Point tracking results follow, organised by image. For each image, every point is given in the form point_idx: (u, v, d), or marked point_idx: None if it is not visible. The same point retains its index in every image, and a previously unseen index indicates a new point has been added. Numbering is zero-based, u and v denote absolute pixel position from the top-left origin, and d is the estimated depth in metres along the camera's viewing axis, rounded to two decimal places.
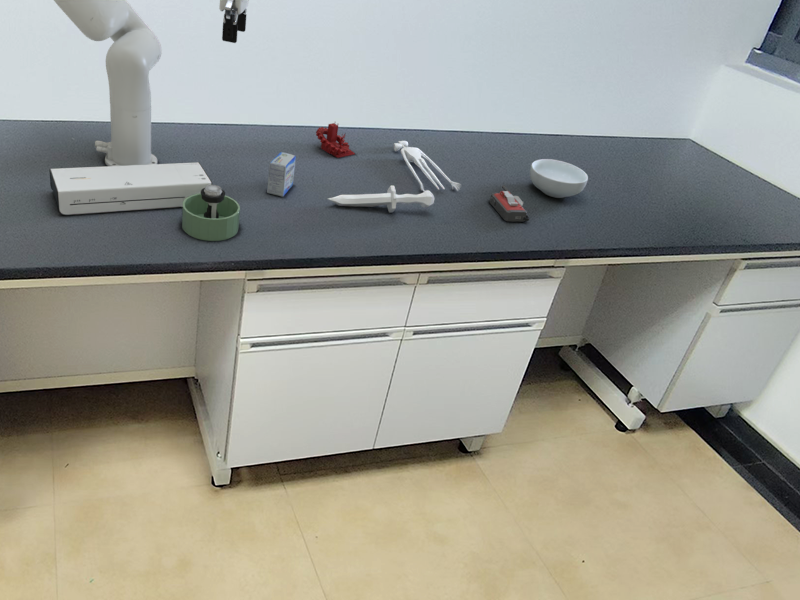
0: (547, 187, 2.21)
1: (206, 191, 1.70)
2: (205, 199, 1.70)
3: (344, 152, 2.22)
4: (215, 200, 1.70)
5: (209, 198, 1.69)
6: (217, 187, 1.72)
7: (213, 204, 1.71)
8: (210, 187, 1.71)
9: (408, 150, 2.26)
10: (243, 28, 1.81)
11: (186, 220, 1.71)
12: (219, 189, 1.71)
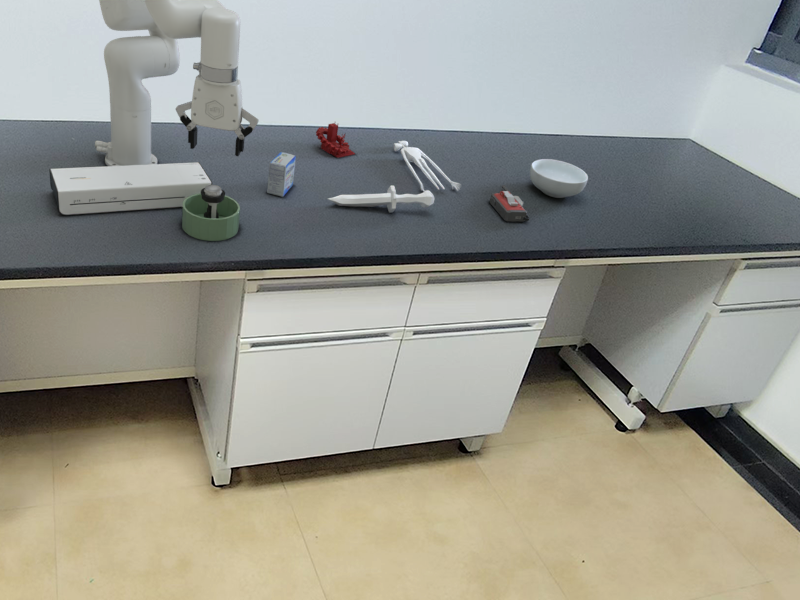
0: (547, 187, 2.21)
1: (206, 191, 1.70)
2: (205, 199, 1.70)
3: (344, 152, 2.22)
4: (215, 200, 1.70)
5: (209, 198, 1.69)
6: (217, 187, 1.72)
7: (213, 204, 1.71)
8: (210, 187, 1.71)
9: (408, 150, 2.26)
10: (196, 141, 1.67)
11: (186, 220, 1.71)
12: (219, 189, 1.71)
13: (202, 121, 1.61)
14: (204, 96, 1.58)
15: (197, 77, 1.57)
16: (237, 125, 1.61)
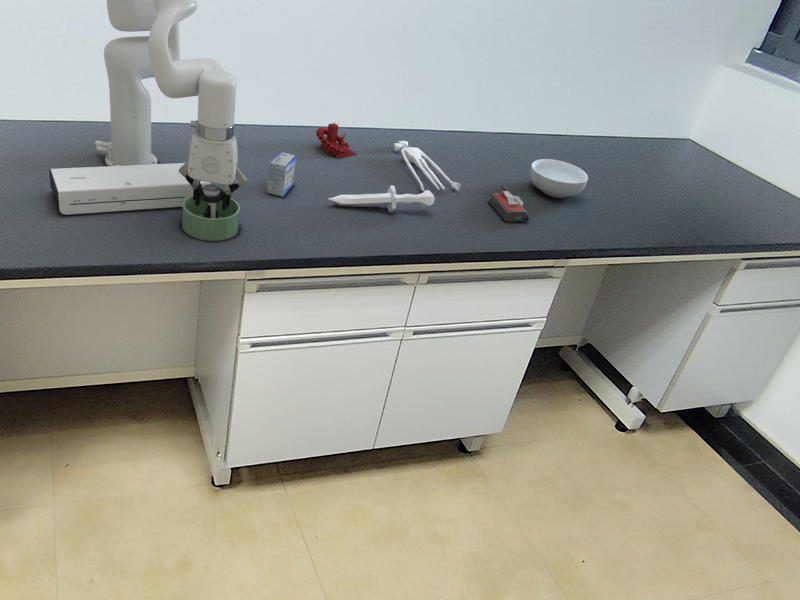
0: (547, 187, 2.21)
1: (205, 191, 1.70)
2: (204, 199, 1.70)
3: (344, 152, 2.22)
4: (214, 200, 1.70)
5: (208, 198, 1.69)
6: (216, 187, 1.71)
7: (212, 204, 1.71)
8: (209, 187, 1.71)
9: (408, 150, 2.26)
10: None
11: (186, 220, 1.71)
12: (218, 189, 1.71)
13: (199, 176, 1.67)
14: (201, 153, 1.64)
15: (194, 134, 1.64)
16: (232, 180, 1.68)
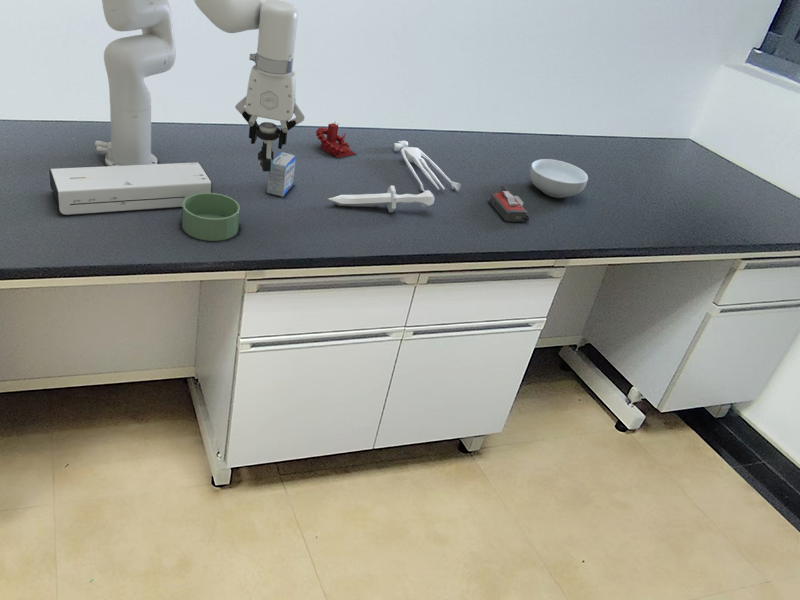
0: (547, 187, 2.21)
1: (261, 128, 1.67)
2: (260, 136, 1.67)
3: (344, 152, 2.22)
4: (271, 137, 1.67)
5: (265, 135, 1.66)
6: (272, 124, 1.69)
7: (268, 142, 1.68)
8: (265, 124, 1.68)
9: (408, 150, 2.26)
10: (256, 136, 1.71)
11: (186, 220, 1.71)
12: (274, 126, 1.68)
13: (256, 111, 1.64)
14: (259, 87, 1.61)
15: (253, 68, 1.61)
16: (290, 116, 1.65)
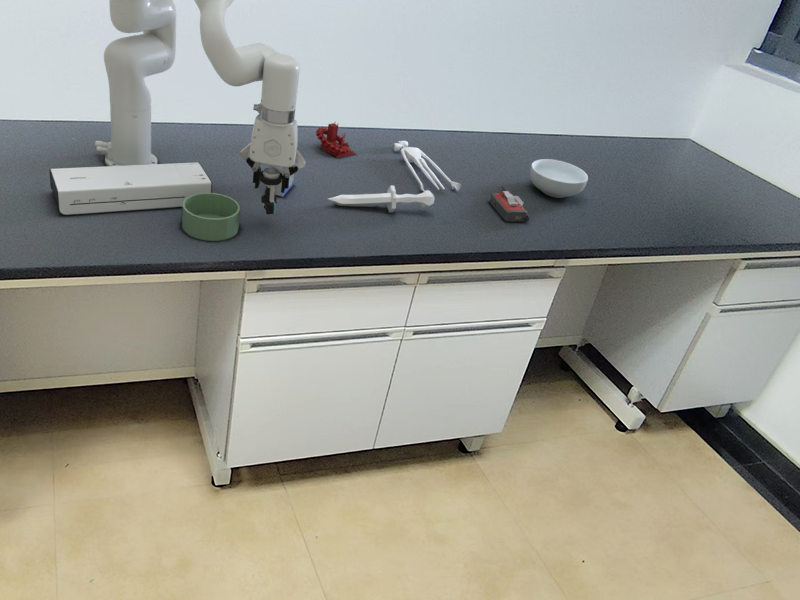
0: (547, 187, 2.21)
1: (265, 174, 1.74)
2: (264, 181, 1.74)
3: (344, 152, 2.22)
4: (274, 182, 1.74)
5: (268, 180, 1.73)
6: (275, 170, 1.75)
7: (272, 186, 1.75)
8: (268, 170, 1.75)
9: (408, 150, 2.26)
10: None
11: (186, 220, 1.71)
12: (277, 171, 1.75)
13: (260, 158, 1.71)
14: (263, 135, 1.68)
15: (257, 118, 1.67)
16: (293, 162, 1.71)
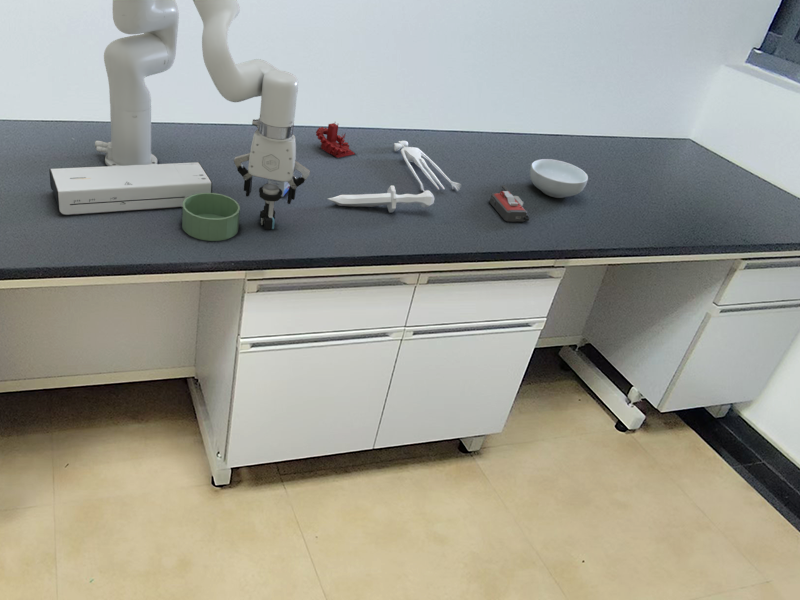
0: (547, 187, 2.21)
1: (264, 190, 1.76)
2: (263, 197, 1.76)
3: (344, 152, 2.22)
4: (273, 198, 1.76)
5: (267, 196, 1.75)
6: (274, 186, 1.78)
7: (271, 202, 1.77)
8: (268, 186, 1.77)
9: (408, 150, 2.26)
10: (251, 188, 1.79)
11: (186, 220, 1.71)
12: (277, 188, 1.77)
13: (258, 172, 1.73)
14: (262, 150, 1.70)
15: (256, 133, 1.69)
16: (291, 177, 1.73)
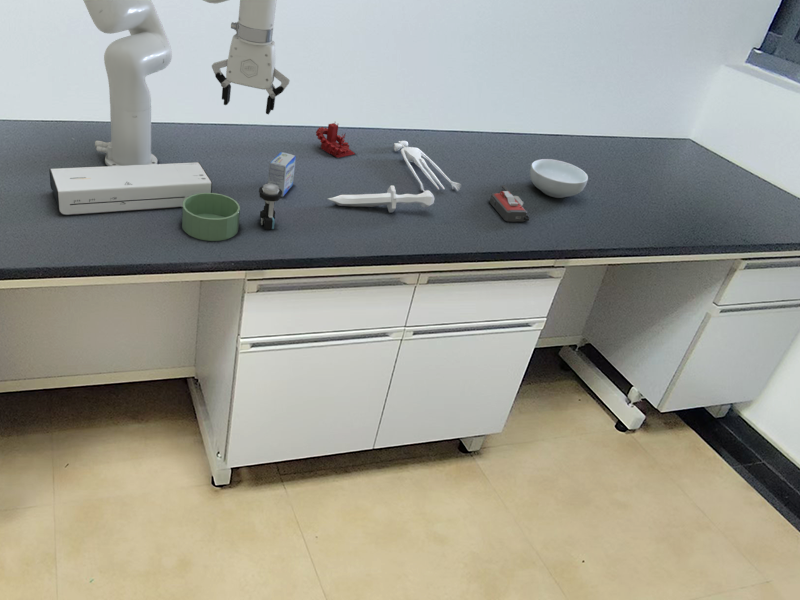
0: (547, 187, 2.21)
1: (264, 190, 1.76)
2: (263, 197, 1.76)
3: (344, 152, 2.22)
4: (273, 198, 1.76)
5: (267, 196, 1.75)
6: (274, 186, 1.78)
7: (271, 202, 1.77)
8: (268, 186, 1.77)
9: (408, 150, 2.26)
10: (229, 98, 1.76)
11: (186, 220, 1.71)
12: (277, 188, 1.77)
13: (236, 79, 1.70)
14: (240, 55, 1.67)
15: (234, 36, 1.66)
16: (269, 84, 1.70)
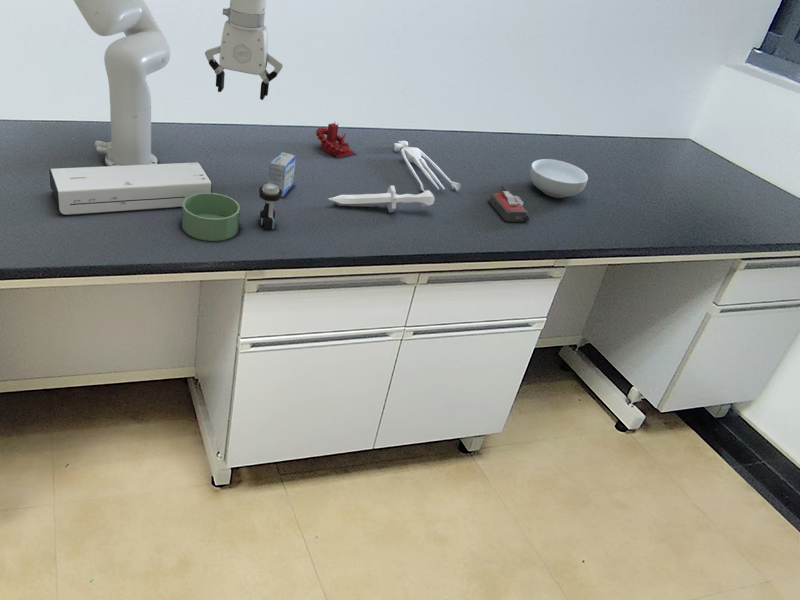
0: (547, 187, 2.21)
1: (264, 190, 1.76)
2: (263, 197, 1.76)
3: (344, 152, 2.22)
4: (273, 198, 1.76)
5: (267, 196, 1.75)
6: (274, 186, 1.78)
7: (271, 202, 1.77)
8: (268, 186, 1.77)
9: (408, 150, 2.26)
10: (223, 85, 1.77)
11: (186, 220, 1.71)
12: (277, 188, 1.77)
13: (230, 65, 1.71)
14: (232, 40, 1.68)
15: (226, 22, 1.67)
16: (263, 69, 1.71)
